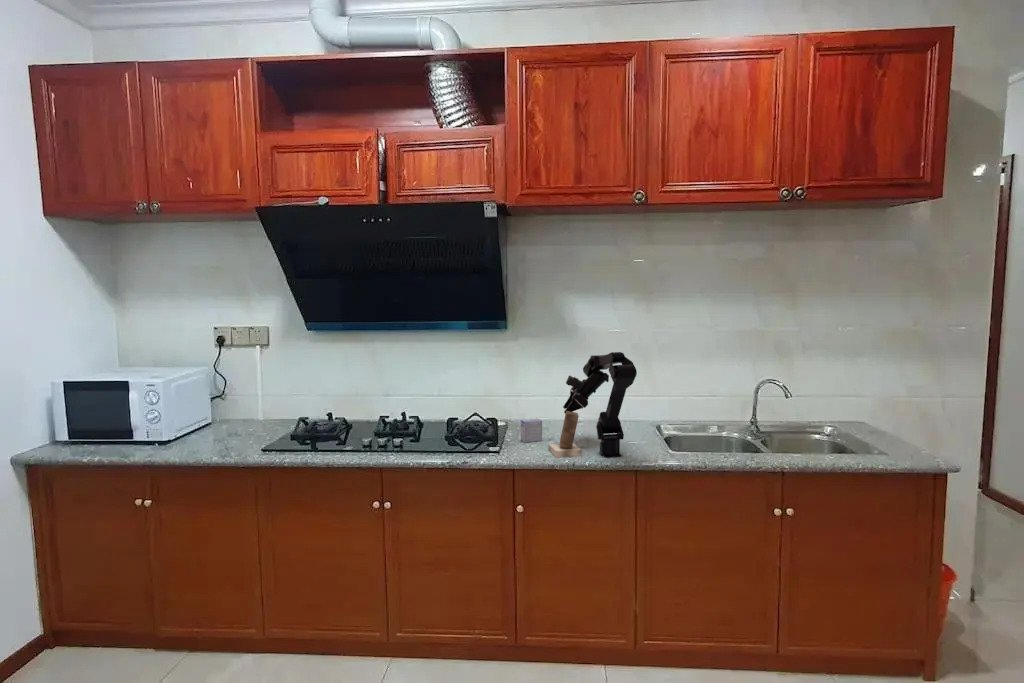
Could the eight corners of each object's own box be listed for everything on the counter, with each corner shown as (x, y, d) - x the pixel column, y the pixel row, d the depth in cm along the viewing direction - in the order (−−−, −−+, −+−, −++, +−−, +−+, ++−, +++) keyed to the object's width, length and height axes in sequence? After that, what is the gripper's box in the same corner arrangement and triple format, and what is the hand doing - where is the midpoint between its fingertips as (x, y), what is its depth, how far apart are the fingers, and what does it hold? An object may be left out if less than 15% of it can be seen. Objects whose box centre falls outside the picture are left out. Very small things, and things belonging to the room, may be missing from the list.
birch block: (573, 450, 235) (573, 442, 234) (581, 457, 225) (581, 449, 225) (548, 451, 232) (548, 444, 232) (555, 459, 223) (555, 451, 222)
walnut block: (570, 445, 230) (577, 412, 228) (571, 448, 226) (578, 415, 224) (559, 443, 230) (566, 410, 228) (560, 446, 225) (567, 413, 224)
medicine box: (537, 438, 250) (538, 418, 249) (542, 441, 246) (542, 420, 245) (520, 440, 247) (520, 419, 246) (524, 443, 243) (524, 422, 242)
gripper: (576, 365, 247) (549, 392, 249) (579, 372, 229) (550, 401, 230) (595, 384, 248) (568, 410, 249) (600, 393, 229) (571, 421, 231)
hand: (564, 410), depth 240 cm, fingers open, 9 cm apart
